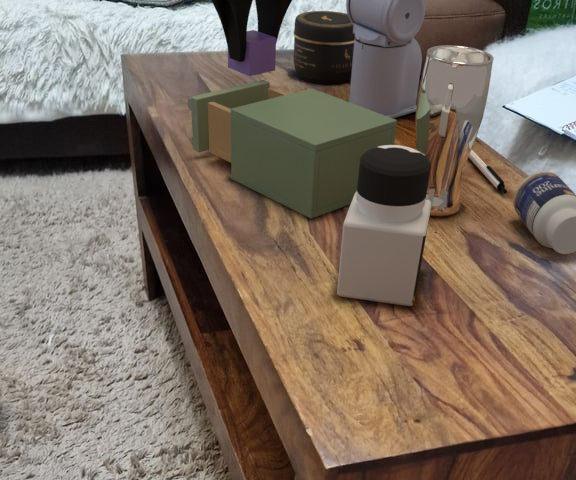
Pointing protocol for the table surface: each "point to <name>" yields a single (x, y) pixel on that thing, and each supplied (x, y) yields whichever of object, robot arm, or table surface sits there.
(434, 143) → the beer glass
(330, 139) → the cabinet
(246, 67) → the cube
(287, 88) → the table surface
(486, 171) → the pen
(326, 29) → the jar
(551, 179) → the pill bottle
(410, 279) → the medicine bottle
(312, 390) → the table surface
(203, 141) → the drawer
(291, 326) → the table surface
